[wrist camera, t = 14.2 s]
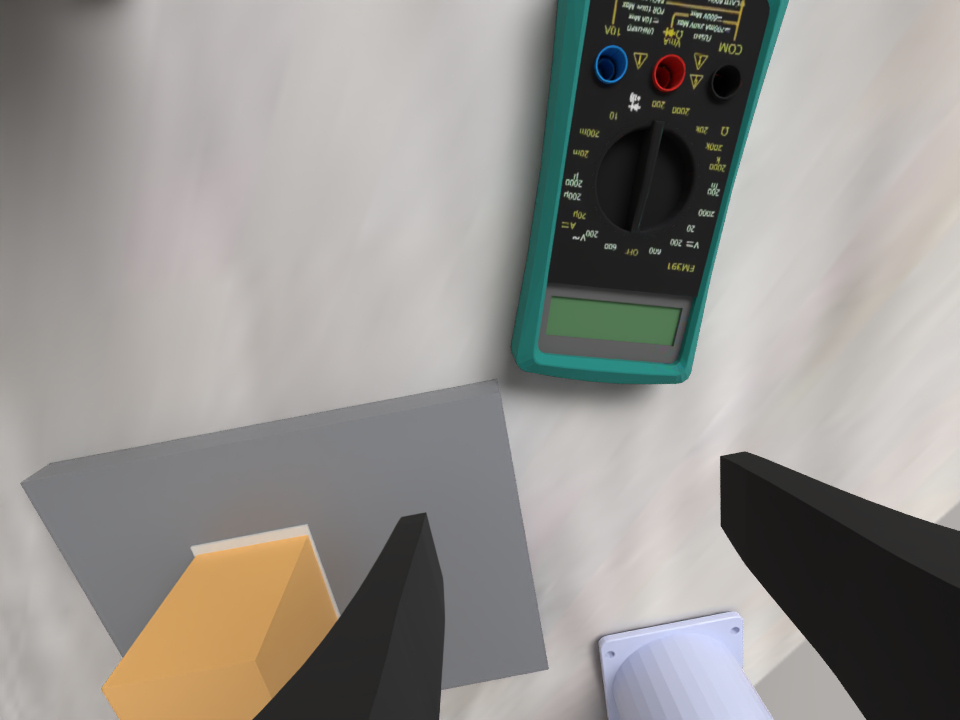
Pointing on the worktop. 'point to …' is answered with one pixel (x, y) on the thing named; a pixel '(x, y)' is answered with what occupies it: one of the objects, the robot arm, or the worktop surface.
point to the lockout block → (226, 635)
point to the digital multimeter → (637, 182)
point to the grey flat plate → (314, 515)
